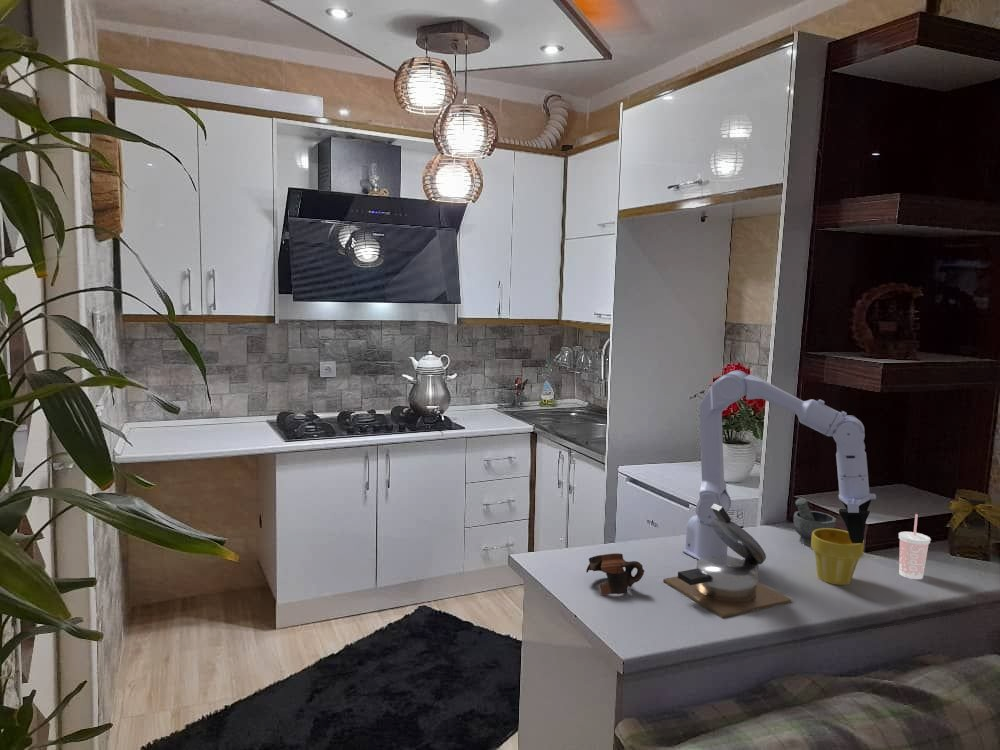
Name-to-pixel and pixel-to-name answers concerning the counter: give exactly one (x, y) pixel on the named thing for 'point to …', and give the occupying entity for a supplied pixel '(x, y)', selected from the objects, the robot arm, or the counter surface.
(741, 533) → the cooker lid
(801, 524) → the mortar and pestle
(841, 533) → the plant pot
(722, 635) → the counter surface
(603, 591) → the pottery mug
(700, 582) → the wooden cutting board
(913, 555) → the beverage cup
